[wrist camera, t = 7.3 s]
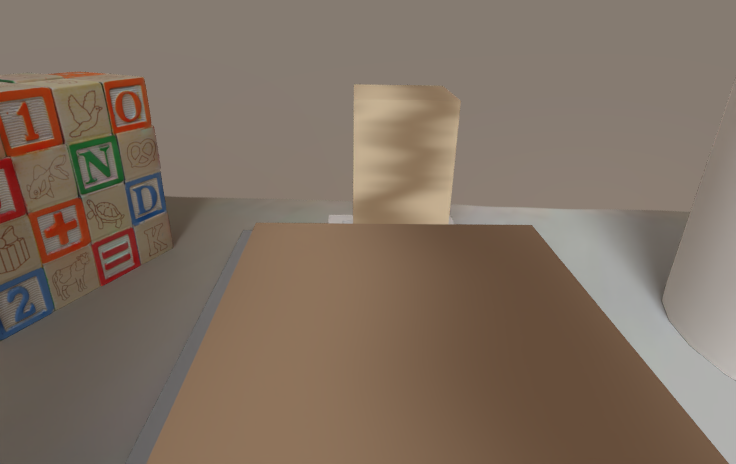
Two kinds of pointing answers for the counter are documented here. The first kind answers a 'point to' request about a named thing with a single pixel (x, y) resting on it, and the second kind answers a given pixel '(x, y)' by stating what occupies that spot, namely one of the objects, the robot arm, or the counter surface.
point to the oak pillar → (403, 153)
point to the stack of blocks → (74, 189)
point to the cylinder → (709, 257)
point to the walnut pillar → (417, 358)
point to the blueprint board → (183, 364)
